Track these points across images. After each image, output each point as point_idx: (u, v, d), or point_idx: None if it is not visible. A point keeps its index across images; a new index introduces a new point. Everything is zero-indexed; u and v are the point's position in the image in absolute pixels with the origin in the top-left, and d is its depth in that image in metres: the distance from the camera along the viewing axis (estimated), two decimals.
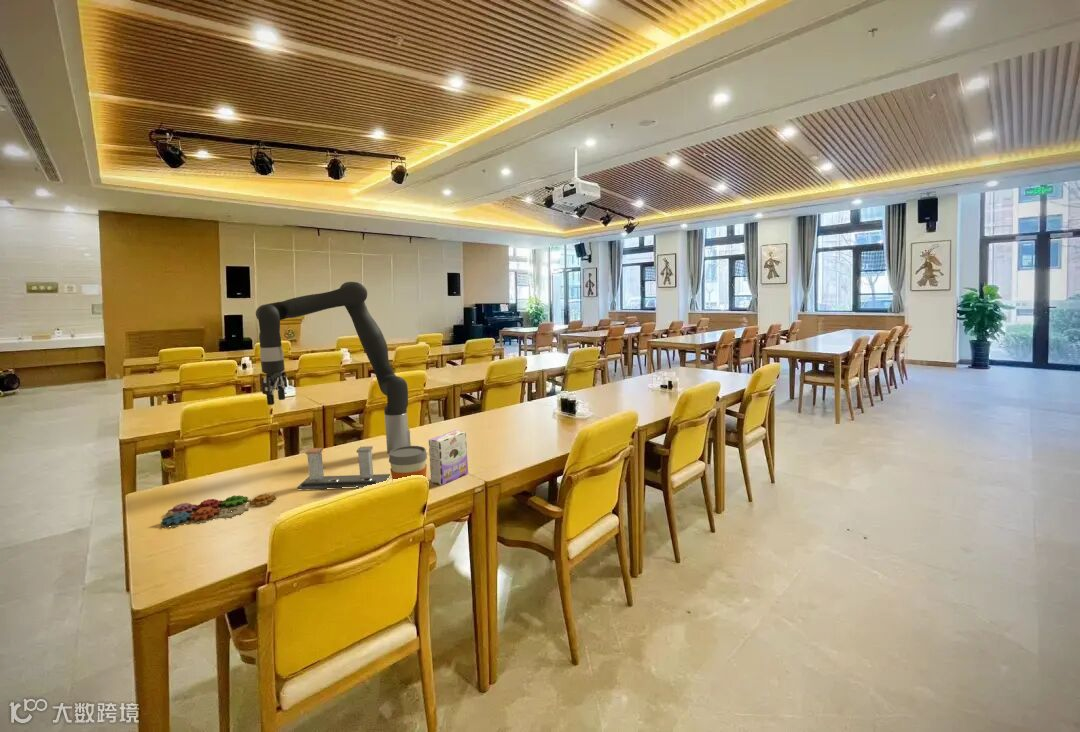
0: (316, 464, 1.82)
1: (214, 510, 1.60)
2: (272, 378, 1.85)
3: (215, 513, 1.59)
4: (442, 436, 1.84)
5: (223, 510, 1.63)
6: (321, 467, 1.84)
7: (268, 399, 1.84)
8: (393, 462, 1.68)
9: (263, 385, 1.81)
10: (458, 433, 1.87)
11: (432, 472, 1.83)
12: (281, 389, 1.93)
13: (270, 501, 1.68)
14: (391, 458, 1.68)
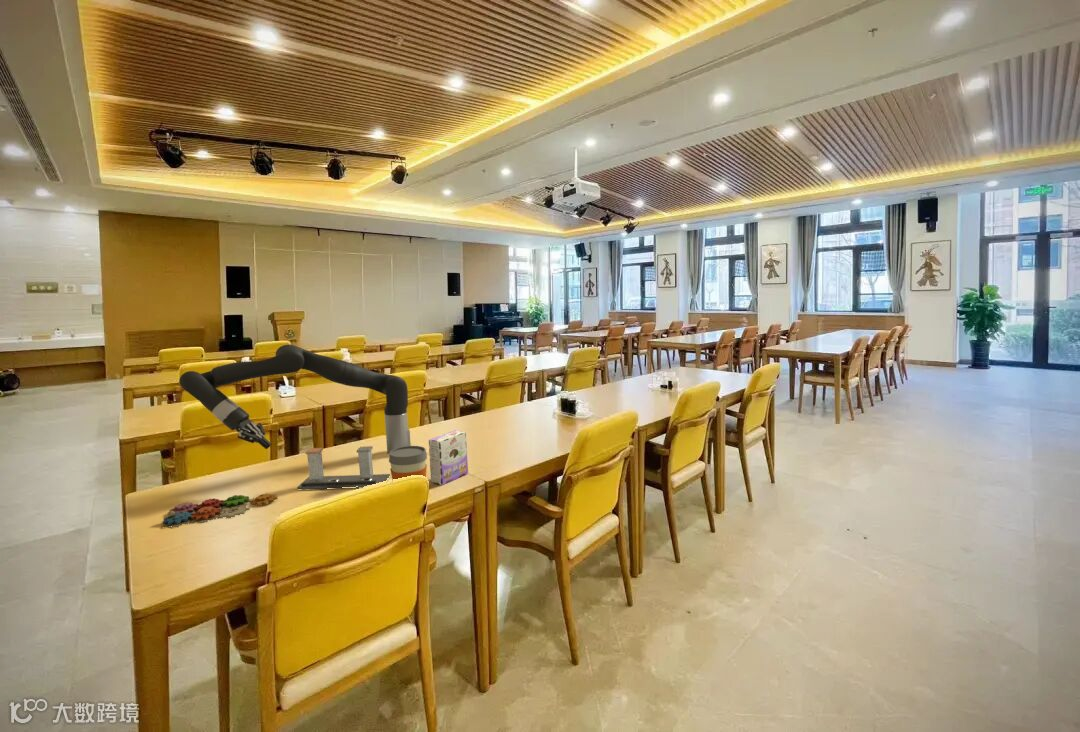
0: (316, 464, 1.82)
1: (215, 510, 1.61)
2: None
3: (216, 513, 1.60)
4: (442, 436, 1.84)
5: (224, 510, 1.63)
6: (321, 467, 1.84)
7: None
8: (393, 462, 1.68)
9: None
10: (458, 433, 1.87)
11: (432, 472, 1.83)
12: None
13: (271, 501, 1.68)
14: (391, 458, 1.68)
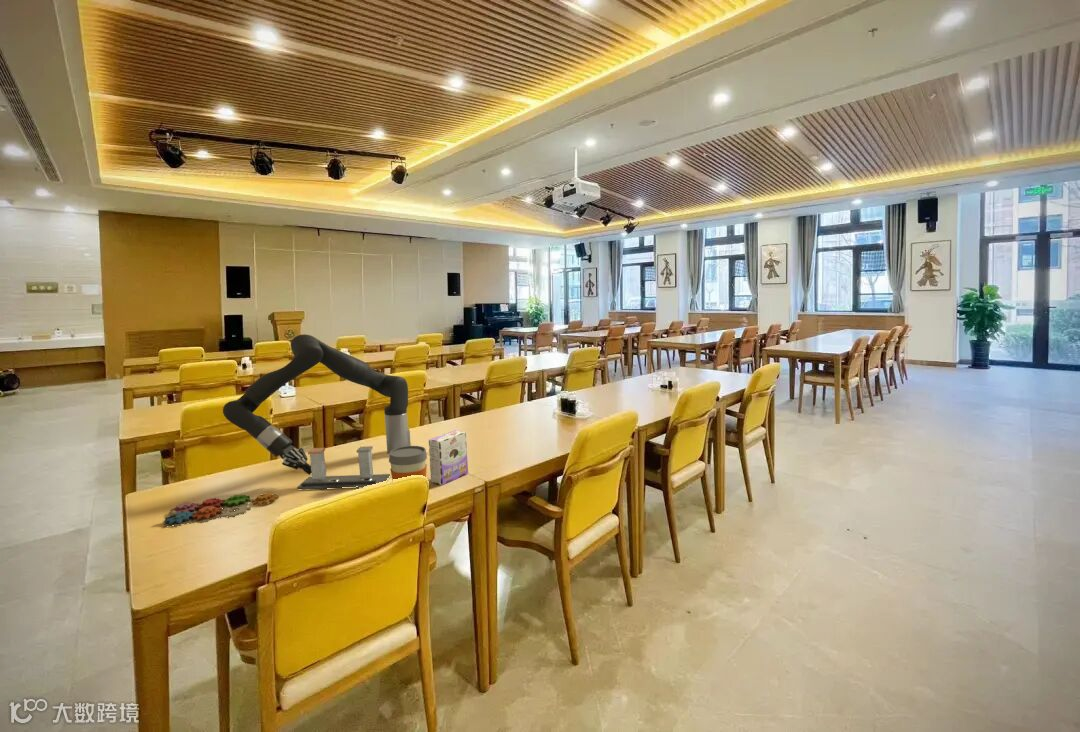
0: (319, 463, 1.82)
1: (216, 509, 1.61)
2: None
3: (217, 512, 1.60)
4: (442, 436, 1.84)
5: (225, 509, 1.64)
6: (323, 466, 1.84)
7: None
8: (393, 462, 1.68)
9: None
10: (458, 433, 1.87)
11: (432, 472, 1.83)
12: None
13: (272, 500, 1.69)
14: (391, 458, 1.68)
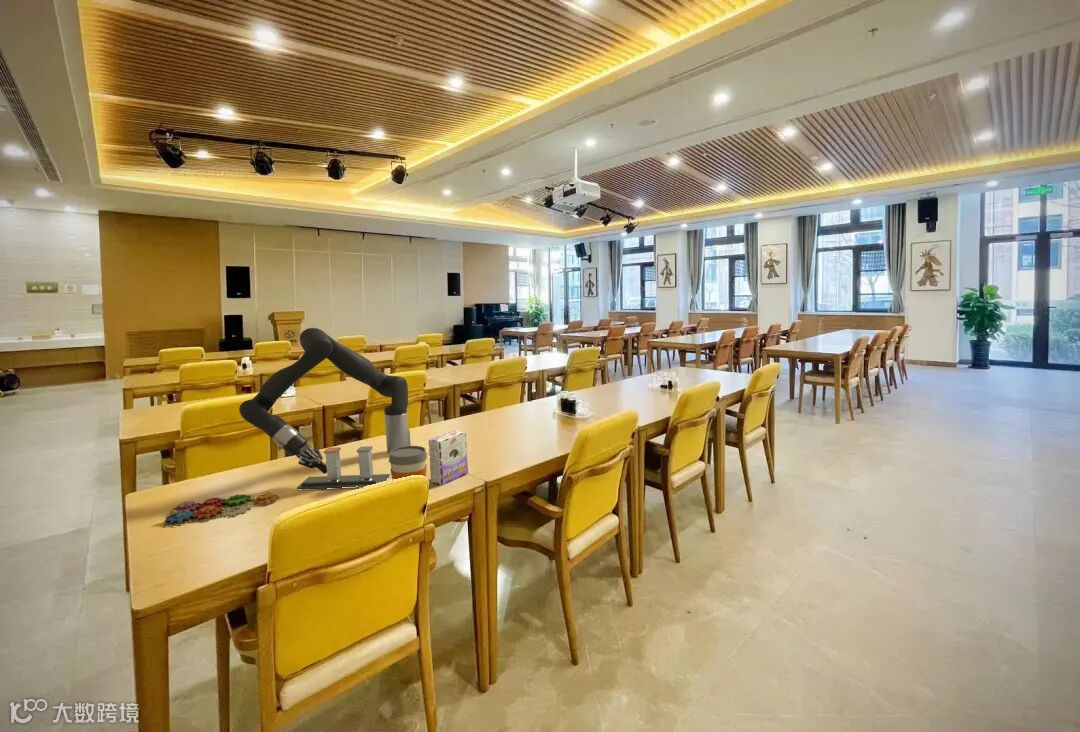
0: (334, 463, 1.82)
1: (217, 509, 1.61)
2: None
3: (218, 512, 1.60)
4: (442, 436, 1.84)
5: (226, 509, 1.64)
6: (339, 466, 1.84)
7: None
8: (393, 462, 1.68)
9: None
10: (458, 433, 1.87)
11: (432, 472, 1.83)
12: None
13: (273, 500, 1.69)
14: (391, 458, 1.68)
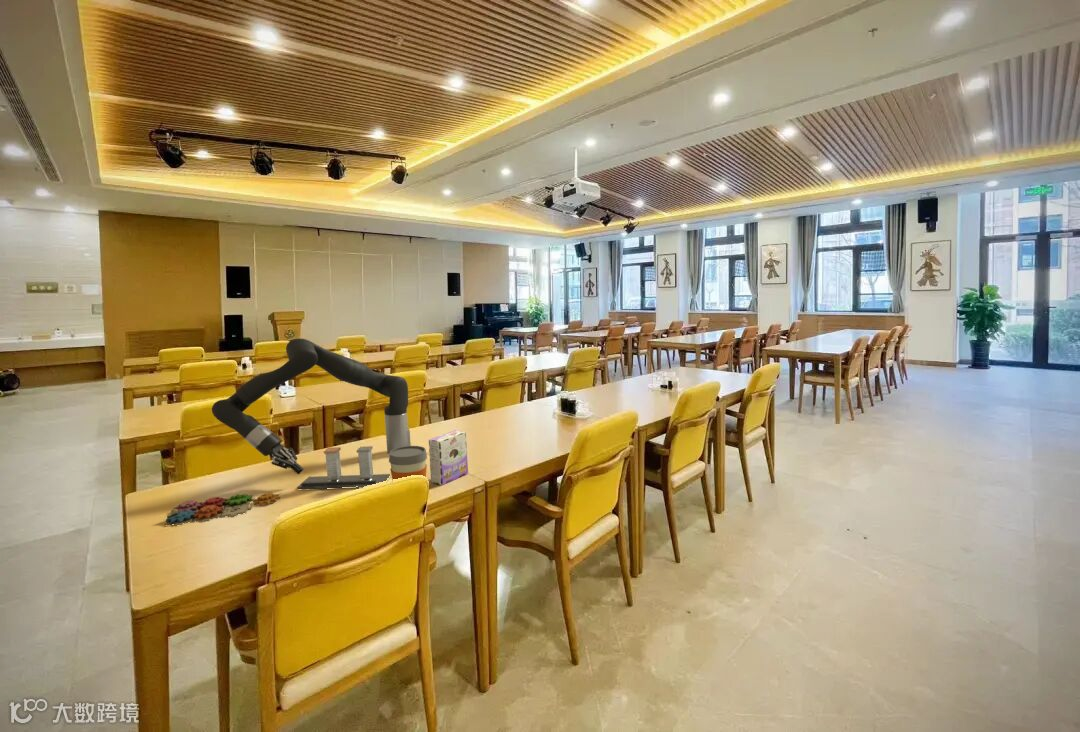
0: (334, 463, 1.82)
1: (218, 508, 1.61)
2: None
3: (218, 511, 1.60)
4: (442, 436, 1.84)
5: (227, 509, 1.64)
6: (339, 466, 1.84)
7: None
8: (393, 462, 1.68)
9: None
10: (458, 433, 1.87)
11: (432, 472, 1.83)
12: None
13: (273, 500, 1.69)
14: (391, 458, 1.68)
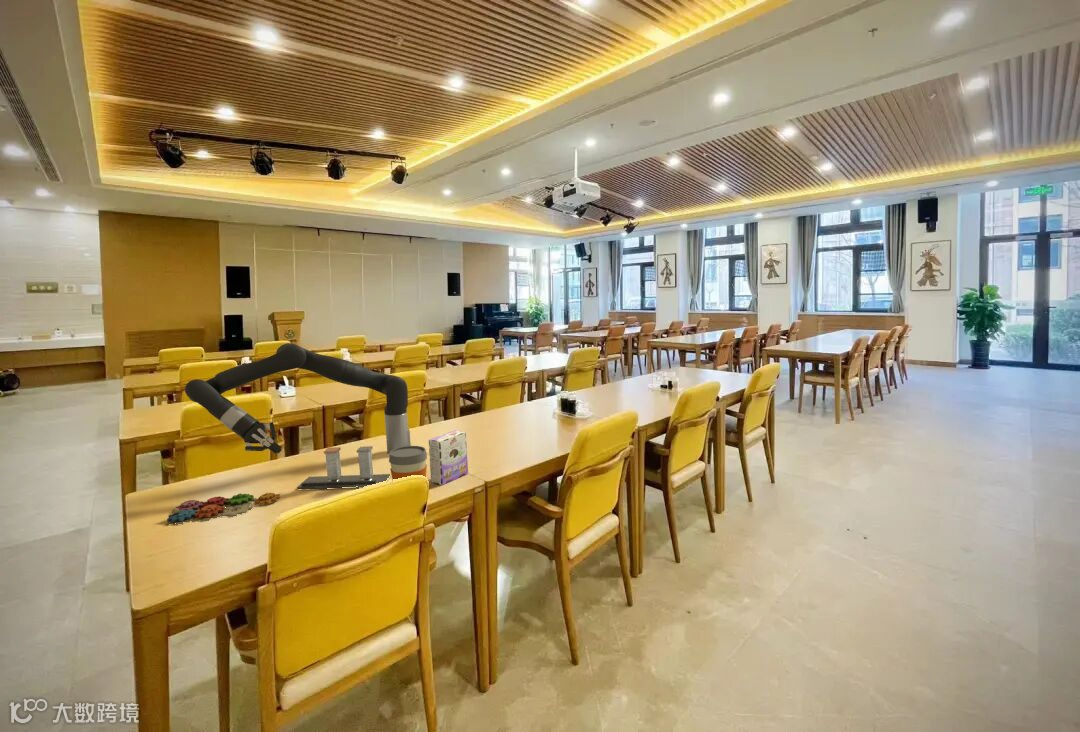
0: (334, 463, 1.82)
1: (218, 508, 1.62)
2: (248, 439, 1.76)
3: (219, 511, 1.61)
4: (442, 436, 1.84)
5: (228, 508, 1.64)
6: (339, 466, 1.84)
7: None
8: (393, 462, 1.68)
9: (253, 450, 1.77)
10: (458, 433, 1.87)
11: (432, 472, 1.83)
12: (271, 444, 1.80)
13: (274, 500, 1.68)
14: (391, 458, 1.68)
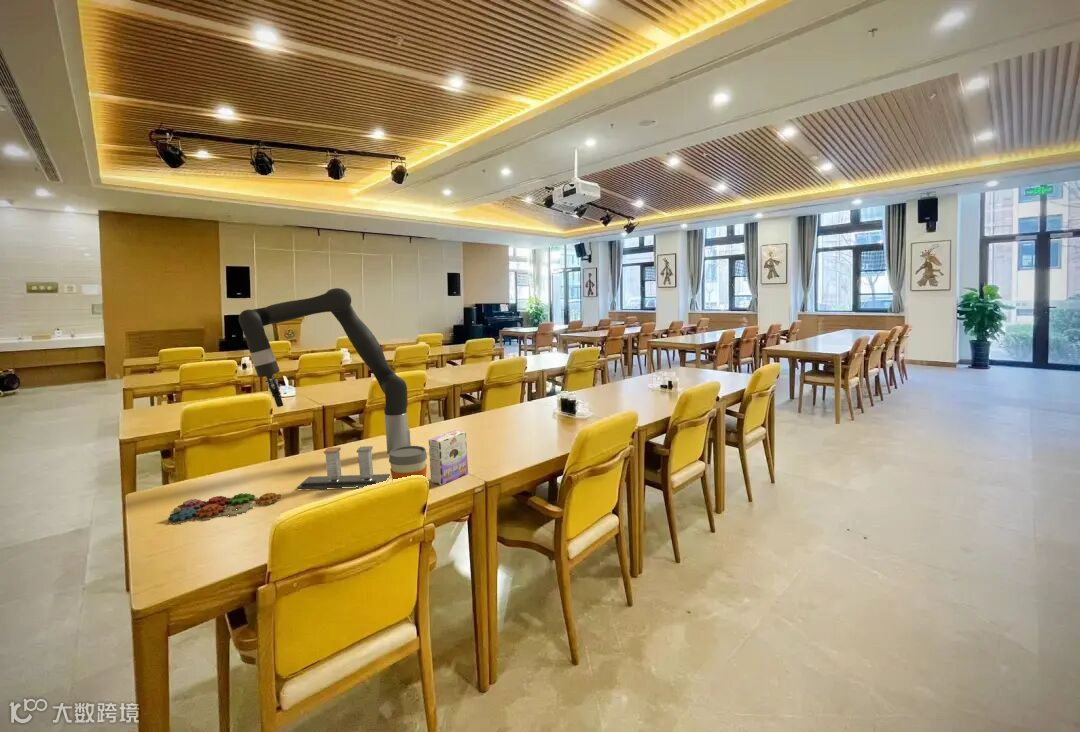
0: (334, 463, 1.82)
1: (219, 507, 1.62)
2: (274, 379, 1.87)
3: (220, 511, 1.61)
4: (442, 436, 1.84)
5: (229, 508, 1.65)
6: (339, 466, 1.84)
7: (278, 401, 1.90)
8: (393, 462, 1.68)
9: (272, 391, 1.86)
10: (458, 433, 1.87)
11: (432, 472, 1.83)
12: None
13: (274, 500, 1.68)
14: (391, 458, 1.68)
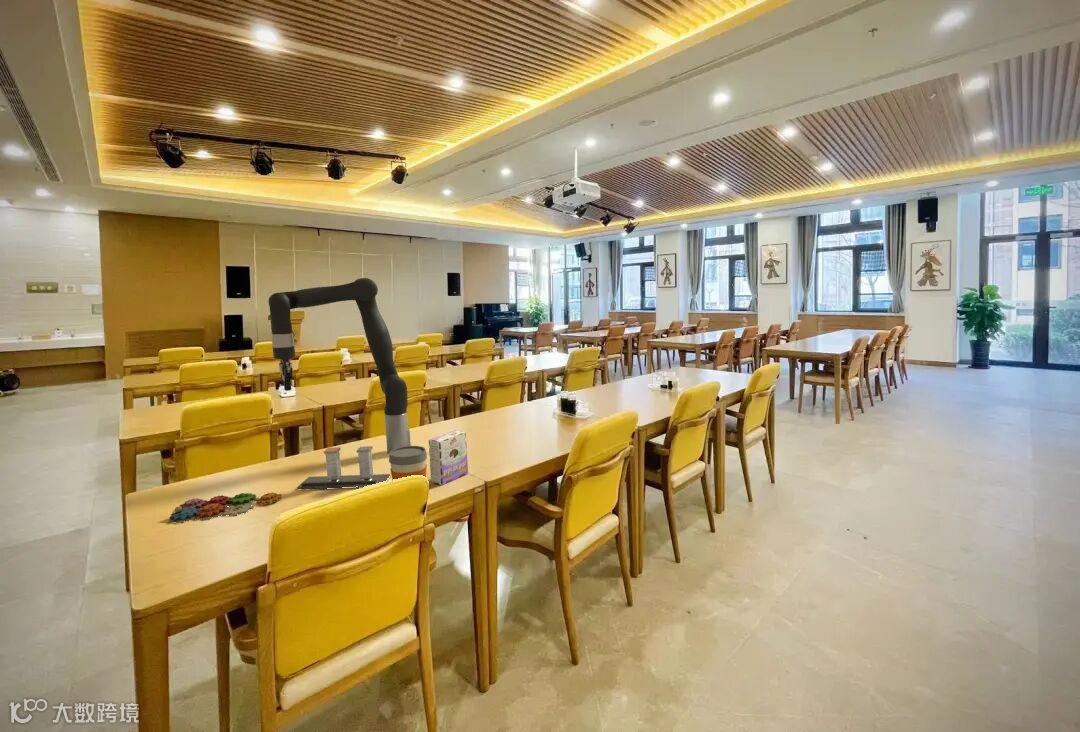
0: (334, 463, 1.82)
1: (220, 507, 1.62)
2: (289, 364, 1.92)
3: (220, 510, 1.61)
4: (442, 436, 1.84)
5: (229, 507, 1.65)
6: (339, 466, 1.84)
7: (287, 385, 1.94)
8: (393, 462, 1.68)
9: (286, 374, 1.91)
10: (458, 433, 1.87)
11: (432, 472, 1.83)
12: None
13: (275, 500, 1.68)
14: (391, 458, 1.68)
